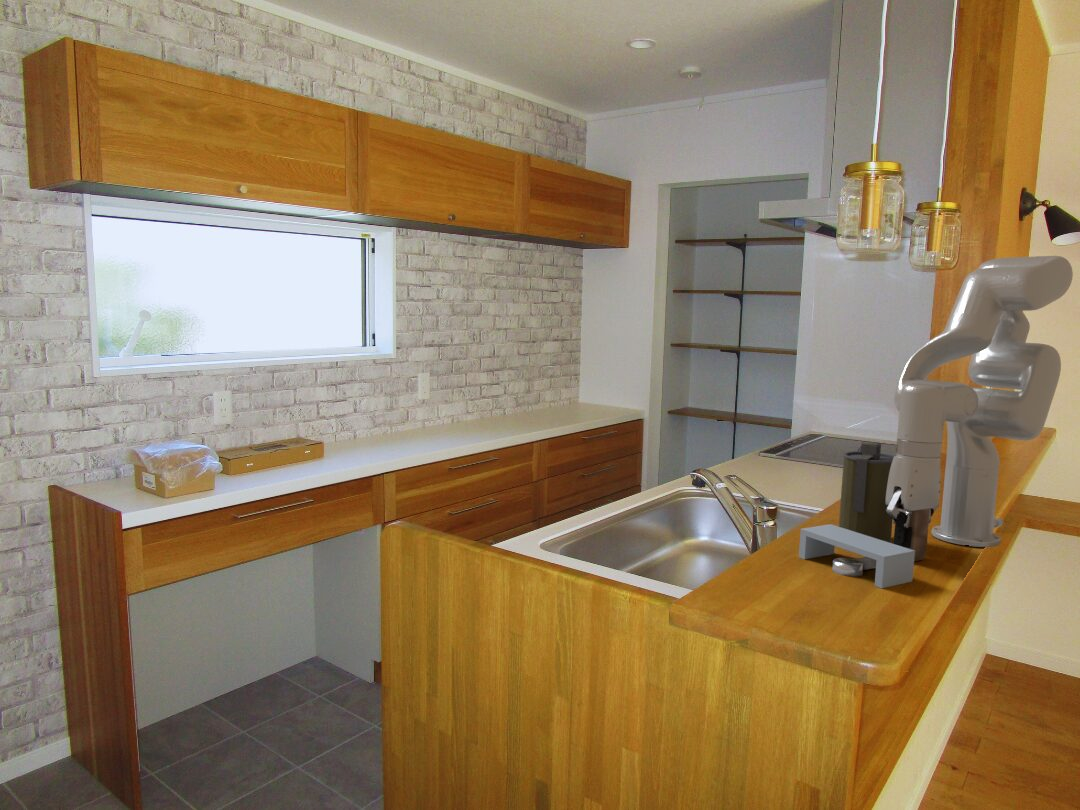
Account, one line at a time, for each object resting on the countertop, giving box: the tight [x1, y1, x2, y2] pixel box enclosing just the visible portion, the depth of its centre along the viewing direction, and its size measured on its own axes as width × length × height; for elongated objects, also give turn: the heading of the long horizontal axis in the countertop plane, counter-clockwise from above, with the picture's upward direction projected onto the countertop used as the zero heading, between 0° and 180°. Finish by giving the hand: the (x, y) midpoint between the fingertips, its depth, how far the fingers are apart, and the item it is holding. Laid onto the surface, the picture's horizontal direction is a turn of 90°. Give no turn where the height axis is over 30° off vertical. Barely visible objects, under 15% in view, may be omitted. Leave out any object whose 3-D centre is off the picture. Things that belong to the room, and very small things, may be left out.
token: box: [831, 557, 864, 577], centre depth 135 cm, size 5×5×2 cm
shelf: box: [798, 523, 915, 589], centre depth 136 cm, size 8×18×6 cm, turn 28°
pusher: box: [854, 506, 930, 571], centre depth 139 cm, size 16×4×10 cm, turn 118°
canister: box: [838, 441, 895, 543], centre depth 154 cm, size 11×10×20 cm
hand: (910, 543), depth 142 cm, fingers closed on pusher, 4 cm apart
